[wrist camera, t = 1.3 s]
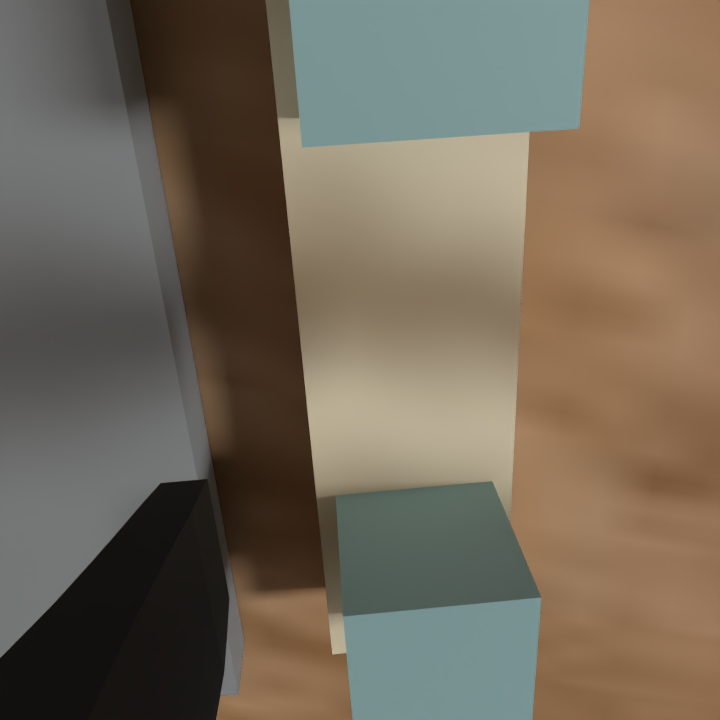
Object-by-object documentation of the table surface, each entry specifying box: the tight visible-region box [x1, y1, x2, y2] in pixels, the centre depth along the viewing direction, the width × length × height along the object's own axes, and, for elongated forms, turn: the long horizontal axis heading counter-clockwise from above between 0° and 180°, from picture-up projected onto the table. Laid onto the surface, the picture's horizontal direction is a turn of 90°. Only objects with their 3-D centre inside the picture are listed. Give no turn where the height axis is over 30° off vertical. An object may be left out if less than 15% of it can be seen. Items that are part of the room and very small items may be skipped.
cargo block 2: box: [336, 481, 541, 720], centre depth 16 cm, size 4×4×4 cm
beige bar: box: [266, 0, 529, 654], centre depth 17 cm, size 20×5×3 cm, turn 3°
